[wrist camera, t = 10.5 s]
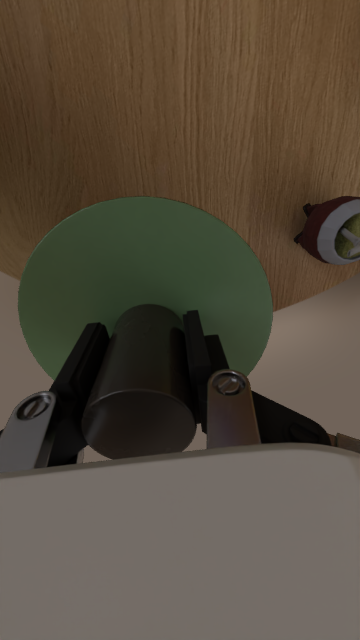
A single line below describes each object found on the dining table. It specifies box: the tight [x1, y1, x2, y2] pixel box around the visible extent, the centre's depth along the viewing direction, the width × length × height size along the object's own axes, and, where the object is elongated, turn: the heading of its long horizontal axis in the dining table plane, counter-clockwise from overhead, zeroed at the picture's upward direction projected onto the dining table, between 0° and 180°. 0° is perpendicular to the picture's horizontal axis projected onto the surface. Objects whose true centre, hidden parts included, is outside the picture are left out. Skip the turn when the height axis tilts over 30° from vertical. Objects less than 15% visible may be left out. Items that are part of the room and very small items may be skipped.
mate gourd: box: [294, 196, 360, 265], centre depth 25 cm, size 8×8×15 cm
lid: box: [18, 196, 273, 460], centre depth 10 cm, size 13×13×7 cm
